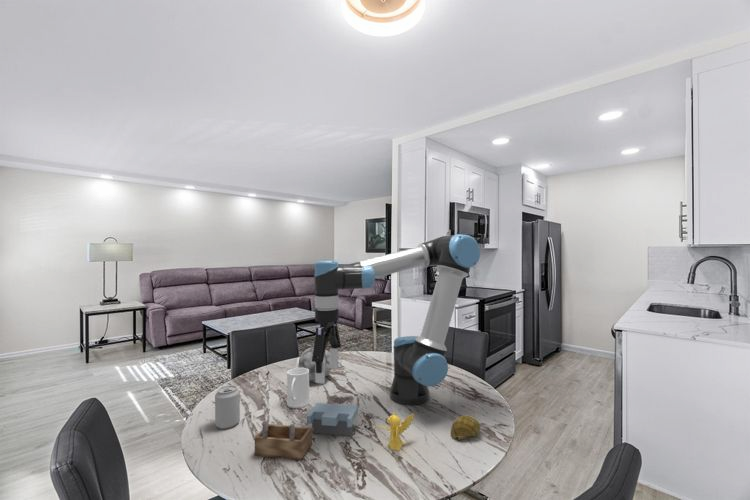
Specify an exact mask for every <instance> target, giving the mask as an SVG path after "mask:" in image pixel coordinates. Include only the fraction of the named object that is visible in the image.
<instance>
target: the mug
mask: <svg viewBox="0 0 750 500" xmlns="http://www.w3.org/2000/svg"><path fill="white" fill-rule="evenodd" d="M286 378H287V379H286V381H287V382H286V383H287V384H286V392H287V393H286V397H287V399H286V400H287V401H286V405H287V406H288V407H289V408H292V409H297V408H303V407H307V406H308V405H309V404H310V402H311V399H310V381H309V369H307V368H298V367H294V368H291V369H289V370H287V372H286Z"/></svg>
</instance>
